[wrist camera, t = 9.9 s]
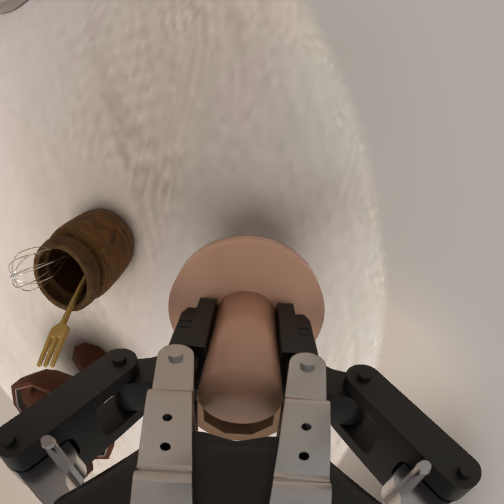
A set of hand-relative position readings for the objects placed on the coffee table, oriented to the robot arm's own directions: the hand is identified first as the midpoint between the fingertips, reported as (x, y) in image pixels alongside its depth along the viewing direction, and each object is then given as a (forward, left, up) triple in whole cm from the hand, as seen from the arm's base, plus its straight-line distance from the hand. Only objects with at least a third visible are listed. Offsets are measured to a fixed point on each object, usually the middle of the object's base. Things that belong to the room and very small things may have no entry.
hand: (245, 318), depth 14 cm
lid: (0, 0, -1) cm, 1 cm away
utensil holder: (+1, -12, -11) cm, 16 cm away
